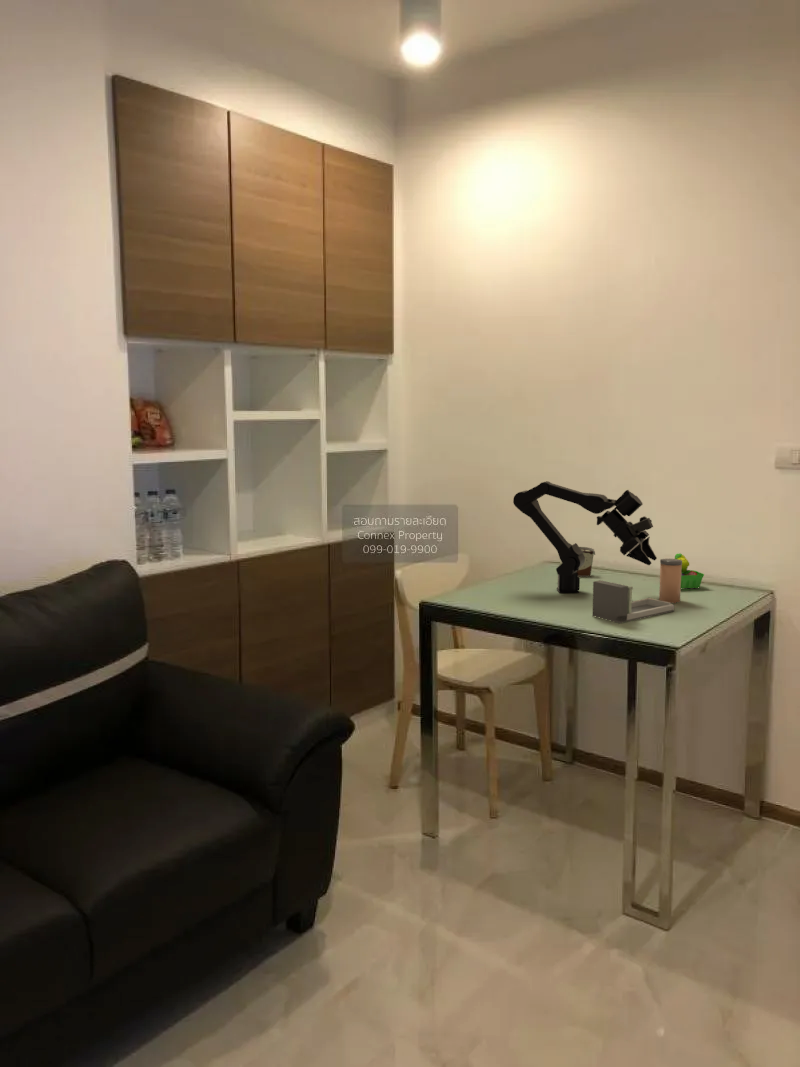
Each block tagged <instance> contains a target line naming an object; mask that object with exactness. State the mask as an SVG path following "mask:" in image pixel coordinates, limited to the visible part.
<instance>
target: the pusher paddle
mask: <svg viewBox="0 0 800 1067" xmlns="http://www.w3.org/2000/svg"><path fill="white" fill-rule="evenodd" d="M611 583H615V584H618V583H617V582H611ZM619 584H620V585H623V584H621V583H619ZM624 585H625V584H624ZM625 586H628V602H627V614H628V613H631V607H632V601H633V599H632V597H633V589H634V588H633V586H631V585H625Z"/></svg>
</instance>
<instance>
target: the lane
mask: <svg viewBox="0 0 800 1067" xmlns="http://www.w3.org/2000/svg"><path fill="white" fill-rule="evenodd" d="M592 583H593V585H592V586H593V587H592V613H591V614H592V615H591V616H592V617H593V616H596V617H595V618H597V617H600V618H599V619H601V618H603V619H602V620H605V619H607V620H606V621H609V620H611V621H610V622H613V621H614V623H616V622H618V624H622V622H624V623H627V621H628V622H632V621H631V620H633V621H636V619H637V620H641V619H645V618H644V617H646V618H650V617H654V615H655V616H659V615H663V613H664V614H668V613H671V612H674V610H675V604H674V603H670V602H665V601H661V600H659V599H655V598H652V597H651V598H650V597H648V598H642V599H638V600H632V607H631V613H628V614H627V602H628V586H629V585H627V586H625V584H622V585H620V584H621V583H617V584H615V583H616V582H613V583H612V582H611V581H605V580H601V579H600V580H596V581H595V580H594V581H593V582H592ZM649 616H650V617H649ZM640 618H641V619H640Z"/></svg>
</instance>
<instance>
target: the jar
mask: <svg viewBox="0 0 800 1067" xmlns="http://www.w3.org/2000/svg"><path fill="white" fill-rule="evenodd" d="M659 562H660V563H659V564H660V566H659V568H660V569H659V570H660V571H659V593H658V594H659V596H658V600H661V601H665V602H670V603H671V604H677V603H676V602H678V603H681V590H682V589H681V569H682V560H679V559H675V558H660V561H659Z"/></svg>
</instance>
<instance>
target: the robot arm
mask: <svg viewBox="0 0 800 1067" xmlns="http://www.w3.org/2000/svg"><path fill="white" fill-rule="evenodd" d="M545 495H547V496H550V497H553V498H556V499H560V500H563V501H566V502H569V503H573V504H576V505H578V506H580V507H581V508H583V509H585V510H586V511H588V512H590V513H593V514H594V515H595V514H596V515H598V516H596V525H597V526H599V525H601V524H602V523H603V524H604V525H605V526H606V527H607V528H609V530H610V531H611V533H613V537H614V538H618V539H619V541H620V542H621V543H622V544H621V546H620V547H619V552H620V553H621V554H622V555H623V556H626V557H629V558H631V559H633V560H636V561H638V562H640V563H642V564H645V565H647V566H651V564H652V561H656V560H657V559H658V558H657V555H656V554H655V552H654V550H653V549H652V547H651V545H650V534H649V532H647V531H648V530H651V529H652V528H654V525H653V522H652V519H651V518H650V517H647V516H646V515H645V516H642V517H640V518H639V521H638V522H635V523H633V522H632V521H628V520H626V518H625V517H631V516H632V515H633V514H634V513H635V512H636V511H637V510H639V508H641V506H643V504H644V503H643V502H642V500H641V499H640V498H639V497H638V496H637V495H635V494H634V493H633V492H631V491H630V489H627V490H625V491H624V492H623V493H622V494H621V495H620V496H619V497H618V498H617V499H612V498H608V497H607V496H606V495H605V494H601V493H600V494H599V493H593V492H592V493H590V492H589V493H588V492H581V491H578V490H575V489H571V488H568V487H565V486H561V485H558V484H555V483H553V482H550V481H542V482H540V483H539V484H537V485H536V486H534V487H532V488H530V489H529V490H526V489H525V490H523V491H519V492H517V493H516V494H514V496H513V500H512V501H513V502H512V503H513V505H514V506H515V508H517V509H518V510H519V511H520V512H521V513H522V514H524V515H526V516H527V517H529V518H530V520H532V521H533V523H535V526H537V528H538V529H539V530H540V531H541V533H543V535H544V536H545V537H546V539H547V540H548V541H549V543H551V545H552V546H553V547H554V549H555V550H556V552H557V554H558V557H559V560H560V561H561V564H559V565H558V566H557V567H556V568H555V570H556V574H557V587H556V590H557V592H558V593H560V594H566V593H567V594H569V593H572V594H575V593H576V594H577V593H579V592H580V586H581V585H580V584H581V582H580V580H581V579H580V576H578V573H577V571H578V570H579V568H580V567H581V566H582V565H583V564H584V562H585V556H584V554H583V553H584V552H583V551H582V550H581V549H580V548H579V547H580V546H579V545H578V543H573V544H571V543H569V541H567V540H566V538H565V537H564V536H563V535H562V533H561V532H560V531H559V530H558V528H556V527H555V525H554V524H553V523H552V521H551V520H550V519H549V517H547V515H546V514H545V513H544V511H543V510H542V508H541V506H540V503H539V501H538V499H540V498H542V497H543V496H545ZM611 508H613V509H612V510H610V509H611ZM604 511H605V512H604ZM603 512H604V513H603ZM601 513H603V514H602V515H599V514H601ZM646 530H647V531H646ZM651 560H652V561H651Z"/></svg>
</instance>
